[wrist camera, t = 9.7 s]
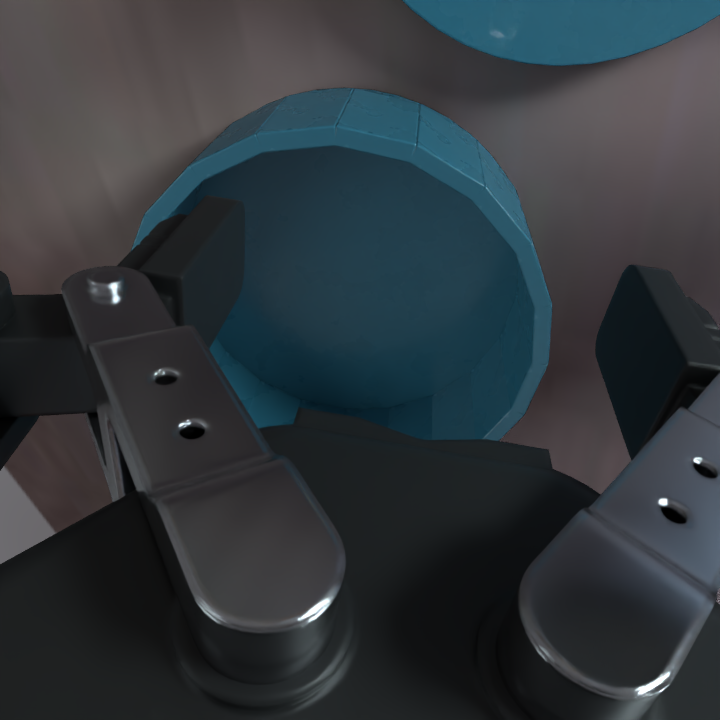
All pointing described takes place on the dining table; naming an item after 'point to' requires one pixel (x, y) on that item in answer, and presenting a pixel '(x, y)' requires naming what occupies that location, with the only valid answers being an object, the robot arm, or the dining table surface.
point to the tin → (373, 267)
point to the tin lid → (564, 26)
